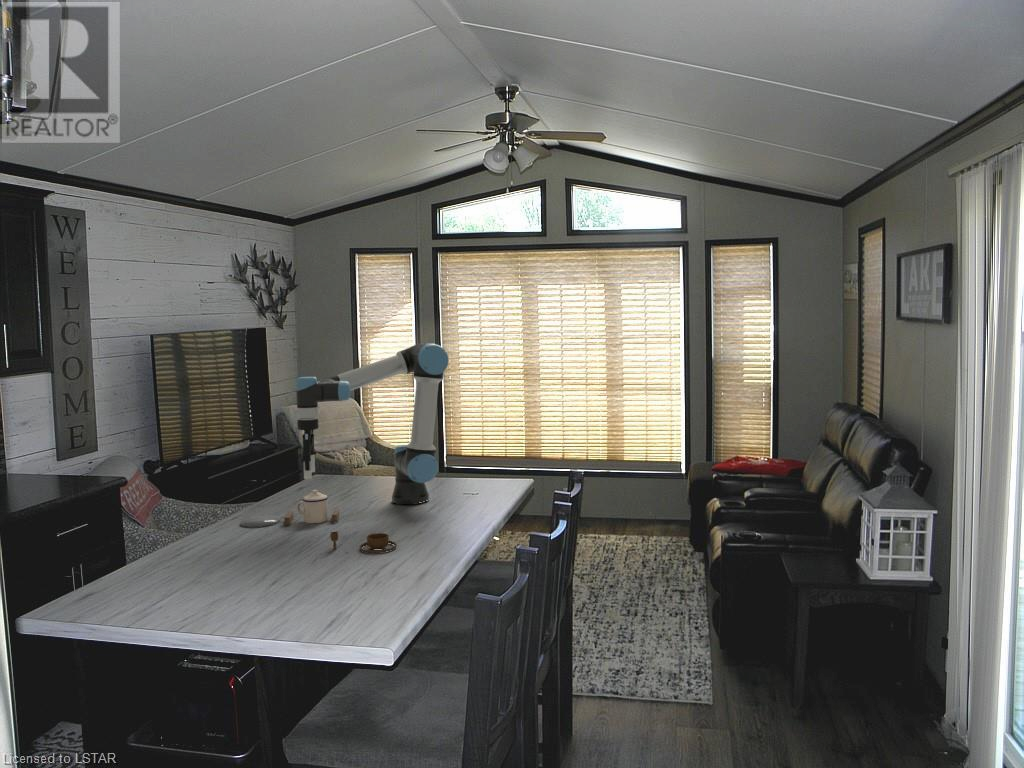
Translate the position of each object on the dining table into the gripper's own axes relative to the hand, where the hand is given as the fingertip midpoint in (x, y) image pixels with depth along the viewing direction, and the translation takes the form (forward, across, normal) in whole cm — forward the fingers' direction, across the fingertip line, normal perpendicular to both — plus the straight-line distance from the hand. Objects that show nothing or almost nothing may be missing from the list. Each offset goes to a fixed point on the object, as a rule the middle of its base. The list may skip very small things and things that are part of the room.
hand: (309, 475), depth 309 cm
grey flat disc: (+17, -2, -18) cm, 25 cm away
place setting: (+18, +40, +22) cm, 49 cm away
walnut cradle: (+17, 0, 0) cm, 17 cm away
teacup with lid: (+17, 0, 0) cm, 17 cm away
